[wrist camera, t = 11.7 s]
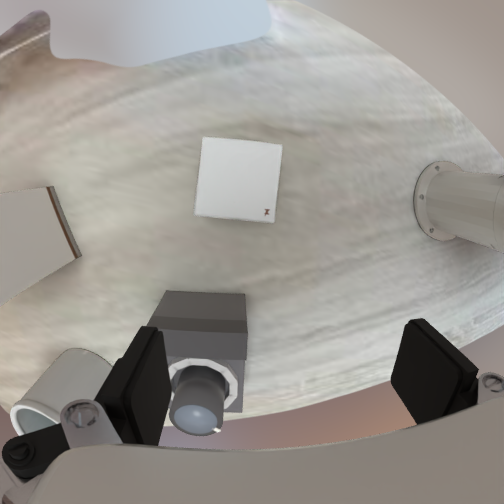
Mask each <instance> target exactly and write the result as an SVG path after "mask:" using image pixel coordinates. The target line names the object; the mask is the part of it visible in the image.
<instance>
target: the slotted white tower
mask: <svg viewBox="0 0 504 504" xmlns="http://www.w3.org/2000/svg"><path fill="white" fill-rule="evenodd" d="M80 256H82V255H81V252H80V250H79V248H78V246H77V244H76V241H75V239H74V237H73V235H72V232H71V230H70V228H69V225H68V223H67V220H66V218H65V216H64V213H63V211H62V208H61V205H60V203H59V200H58V198H57V195H56V192H55V189H54V187H53V186H51V187H43V188H35V189H27V190H20V191H13V192H6V193H0V306H2V305H3V304H4V303H6V302H7V301H9V300H10V299H12V298H13V297H15V296H16V295H18V294H19V293H21V292H23V291H24V290H26V289H27V288H29V287H30V286H32V285H33V284H35V283H37V282H38V281H40V280H41V279H43V278H45V277H46V276H48V275H50V274H51V273H53V272H54V271H56V270H58V269H59V268H61V267H63V266H64V265H66V264H68V263H69V262H71V261H73V260H75V259H76V258H78V257H80Z"/></svg>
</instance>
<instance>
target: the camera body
mask: <svg viewBox="0 0 504 504" xmlns="http://www.w3.org/2000/svg"><path fill="white" fill-rule="evenodd" d="M147 326H150V327H157V328H158V331H162V332H163V336H164V343H165V350H166V357H167V363H168V369H169V375H170V381H171V386H172V395H171V399H170V403H169V407H168V408H171V405H172V401H173V398H174V394H175V391H176V387H177V384H178V381H179V377H180V374H181V373H182V371H183V370H184V369H185V368H187V367H189V366H191V365H201V366H208V367H210V368H212V369H215V370H217V371H219V372H220V373H221V374H222V375H223V377H224V379H225V384H226V385H225V398H224V412H237V413H242V407H243V386H244V365H245V360H246V356H247V337H248V331H247V318H246V305H245V294H227V293H202V292H182V291H166V292H165V294H164V296H163V298H162V299H161V301H160V303H159V305H158V306H157V308H156V310H155V312H154V313H153V315H152V317H151V319H150V320H149V322H148V324H147Z"/></svg>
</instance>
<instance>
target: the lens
mask: <svg viewBox="0 0 504 504" xmlns="http://www.w3.org/2000/svg"><path fill="white" fill-rule="evenodd" d="M225 385H226V384H225V379H224V377H223V375H222V374H221V373H220V372H219V371H217V370H215V369H212V368H210V367H208V366H201V365H191V366H189V367H187V368H185V369H184V370H183V371H182V373H181V374H180V377H179V381H178V384H177V387H176V391H175V394H174V398H173V401H172V405H171V408H170V412H169V417H170V420H171V422H172V424H173V425H174V426H175V427H176V428H177V429H179V430H180V431H182V432H184V433H187V434H190V435H195V436H207V435H211V434H214V433H216V432H220V431H221V429H220V428H221V427H222V424H223V412H224V398H225Z"/></svg>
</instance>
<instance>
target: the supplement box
mask: <svg viewBox="0 0 504 504" xmlns="http://www.w3.org/2000/svg"><path fill="white" fill-rule="evenodd" d="M282 149H283V145H281V144H275V143H268V142H261V141H253V140H243V139H232V138H221V137H203V141H202V148H201V155H200V163H199V171H198V178H197V186H196V194H195V203H194V212H193V214H194V215H195V216H200V217H211V218H222V219H232V220H243V221H253V222H262V223H270V224H274V223H275V217H276V208H277V199H278V189H279V179H280V168H281V158H282Z"/></svg>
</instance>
